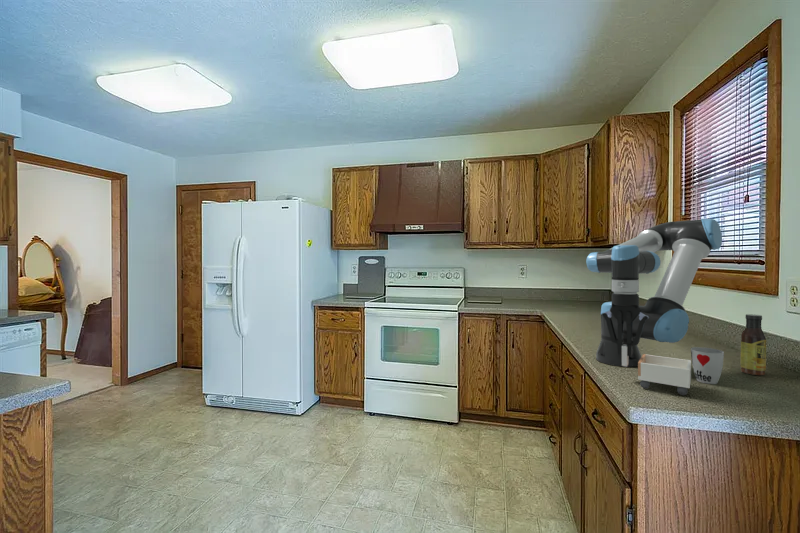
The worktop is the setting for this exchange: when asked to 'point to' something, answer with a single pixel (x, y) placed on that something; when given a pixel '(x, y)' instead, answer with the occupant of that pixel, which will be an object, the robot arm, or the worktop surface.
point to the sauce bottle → (753, 347)
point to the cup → (707, 364)
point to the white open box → (665, 372)
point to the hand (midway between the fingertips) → (625, 365)
